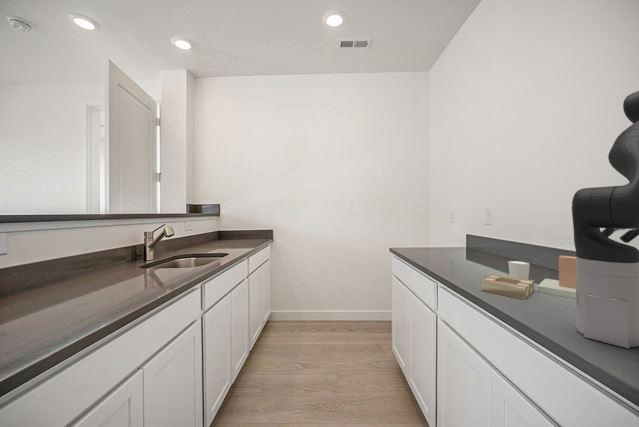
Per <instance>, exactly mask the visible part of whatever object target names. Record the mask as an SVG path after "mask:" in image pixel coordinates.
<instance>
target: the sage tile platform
mask: <svg viewBox="0 0 639 427" xmlns="http://www.w3.org/2000/svg"><path fill="white" fill-rule="evenodd" d="M537 293H544V294H547V295H548V294H549V295H555V296H559V297H564V298H565V297H566V298H571V299H574V300H576V289H574V288H568V287H562V286H559V279H558V280H557V279H552V278H544V279H543V280H542V281H541V282H540V283H539V284H538V285H537Z"/></svg>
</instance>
